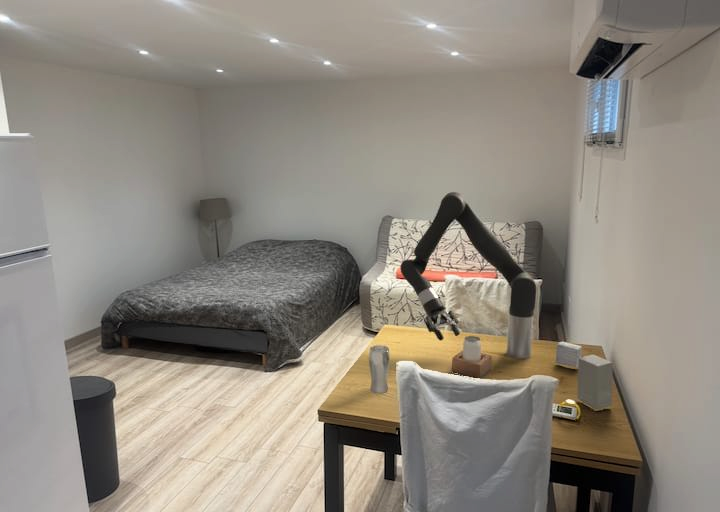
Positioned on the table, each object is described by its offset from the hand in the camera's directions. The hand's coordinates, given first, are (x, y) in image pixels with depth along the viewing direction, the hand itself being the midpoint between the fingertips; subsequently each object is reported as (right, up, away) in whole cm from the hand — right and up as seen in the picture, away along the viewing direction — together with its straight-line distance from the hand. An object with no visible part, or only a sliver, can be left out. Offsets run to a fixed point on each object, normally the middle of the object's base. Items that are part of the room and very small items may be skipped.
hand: (450, 337), depth 194 cm
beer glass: (-28, -15, -22) cm, 39 cm away
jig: (+7, -12, -8) cm, 15 cm away
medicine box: (+44, -11, -3) cm, 46 cm away
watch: (+29, -19, -40) cm, 53 cm away
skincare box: (+40, -17, -32) cm, 54 cm away
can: (+6, -11, -8) cm, 15 cm away
